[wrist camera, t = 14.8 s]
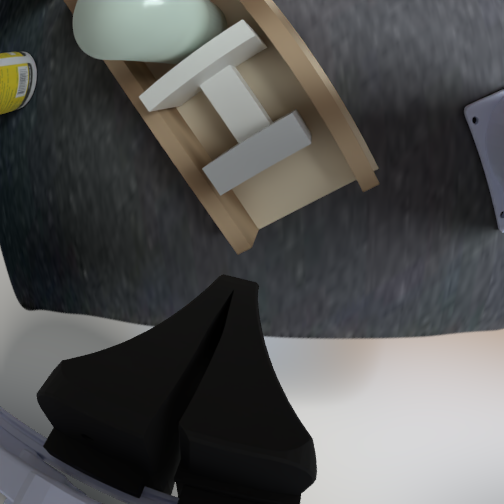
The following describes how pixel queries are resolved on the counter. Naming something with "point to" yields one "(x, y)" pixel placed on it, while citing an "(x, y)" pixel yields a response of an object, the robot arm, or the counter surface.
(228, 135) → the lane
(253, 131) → the pusher
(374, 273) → the counter surface
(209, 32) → the green jar
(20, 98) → the supplement bottle
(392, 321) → the counter surface
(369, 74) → the counter surface
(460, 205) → the counter surface
